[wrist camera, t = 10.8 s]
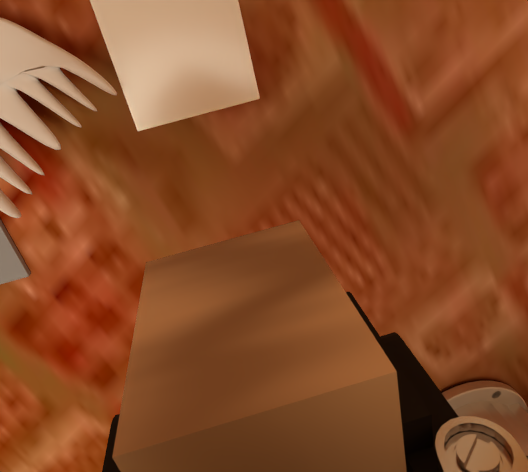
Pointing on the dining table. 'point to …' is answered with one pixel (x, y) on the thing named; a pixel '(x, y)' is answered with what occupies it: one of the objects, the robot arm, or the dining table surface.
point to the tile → (177, 56)
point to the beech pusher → (255, 366)
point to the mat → (10, 259)
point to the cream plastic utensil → (34, 96)
